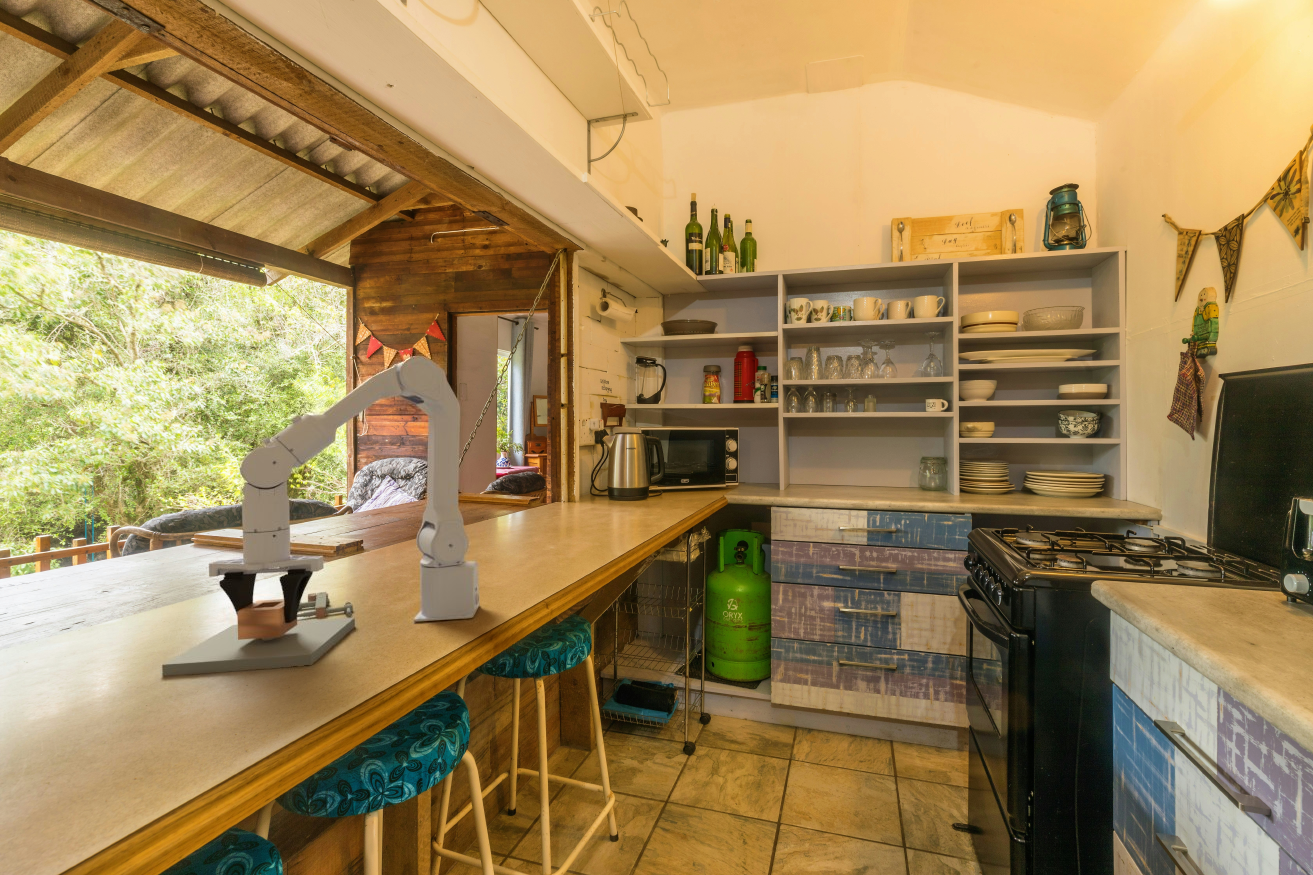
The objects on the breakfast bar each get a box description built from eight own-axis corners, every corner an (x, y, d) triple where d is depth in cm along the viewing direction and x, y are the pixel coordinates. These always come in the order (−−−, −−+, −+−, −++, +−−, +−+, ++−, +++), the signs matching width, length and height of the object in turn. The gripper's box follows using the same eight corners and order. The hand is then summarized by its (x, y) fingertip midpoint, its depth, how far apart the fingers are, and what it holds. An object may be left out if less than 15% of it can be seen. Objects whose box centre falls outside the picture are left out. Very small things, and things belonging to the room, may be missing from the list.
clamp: (290, 595, 106) (351, 587, 111) (290, 607, 106) (351, 598, 111) (283, 617, 93) (353, 607, 98) (284, 631, 93) (353, 620, 98)
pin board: (354, 626, 93) (354, 598, 93) (311, 665, 78) (310, 632, 78) (233, 634, 91) (232, 605, 91) (162, 676, 75) (161, 641, 75)
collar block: (297, 624, 87) (296, 598, 87) (279, 636, 82) (278, 608, 82) (258, 627, 86) (257, 600, 86) (238, 639, 81) (237, 611, 81)
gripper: (194, 536, 79) (196, 634, 79) (307, 531, 81) (309, 627, 81) (224, 528, 86) (226, 618, 86) (328, 524, 88) (330, 612, 88)
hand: (268, 622), depth 84 cm, fingers closed on collar block, 5 cm apart
